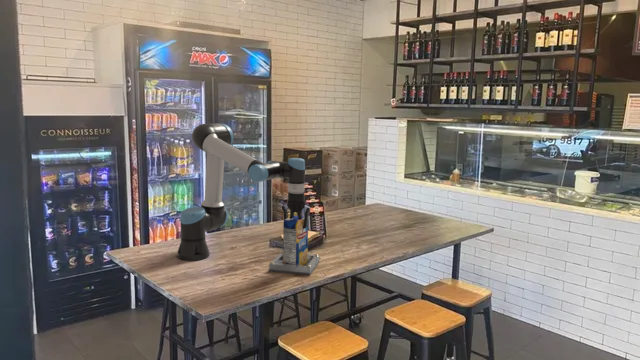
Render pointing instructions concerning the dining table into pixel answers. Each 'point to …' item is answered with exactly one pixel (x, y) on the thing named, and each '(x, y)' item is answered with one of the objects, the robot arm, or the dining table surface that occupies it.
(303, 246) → the beverage box
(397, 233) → the dining table surface
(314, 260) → the socket
